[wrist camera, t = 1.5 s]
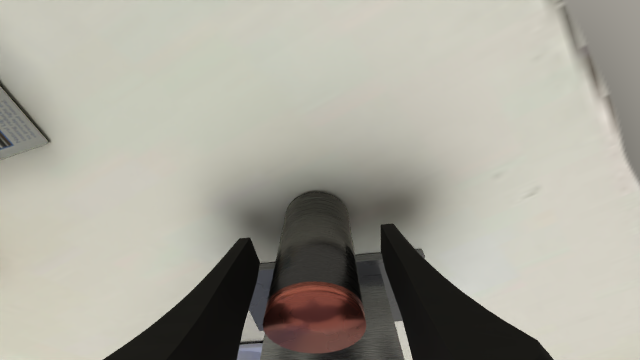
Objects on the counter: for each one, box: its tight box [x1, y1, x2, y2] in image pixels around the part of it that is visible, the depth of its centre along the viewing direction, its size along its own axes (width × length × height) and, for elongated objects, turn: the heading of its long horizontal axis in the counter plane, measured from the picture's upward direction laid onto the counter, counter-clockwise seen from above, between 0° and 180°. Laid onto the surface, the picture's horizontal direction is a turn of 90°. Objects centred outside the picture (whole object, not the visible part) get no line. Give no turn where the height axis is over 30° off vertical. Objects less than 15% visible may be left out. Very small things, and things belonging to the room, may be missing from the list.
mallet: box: [263, 192, 366, 353], centre depth 14 cm, size 14×4×7 cm, turn 8°
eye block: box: [249, 249, 425, 360], centre depth 16 cm, size 8×14×6 cm, turn 98°
